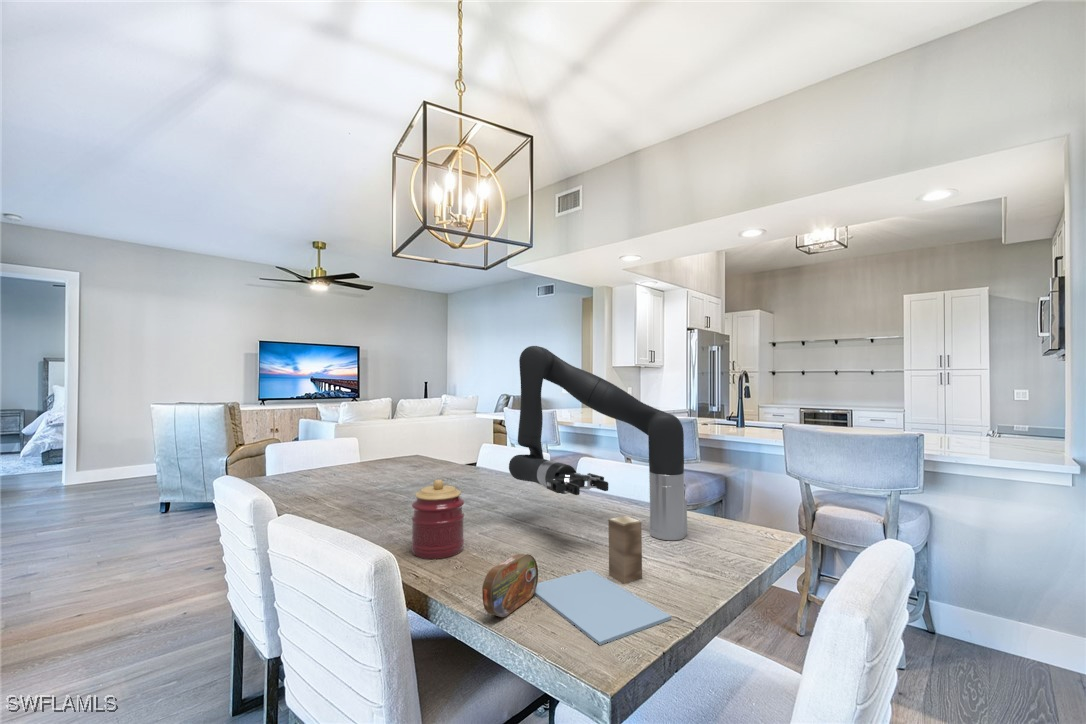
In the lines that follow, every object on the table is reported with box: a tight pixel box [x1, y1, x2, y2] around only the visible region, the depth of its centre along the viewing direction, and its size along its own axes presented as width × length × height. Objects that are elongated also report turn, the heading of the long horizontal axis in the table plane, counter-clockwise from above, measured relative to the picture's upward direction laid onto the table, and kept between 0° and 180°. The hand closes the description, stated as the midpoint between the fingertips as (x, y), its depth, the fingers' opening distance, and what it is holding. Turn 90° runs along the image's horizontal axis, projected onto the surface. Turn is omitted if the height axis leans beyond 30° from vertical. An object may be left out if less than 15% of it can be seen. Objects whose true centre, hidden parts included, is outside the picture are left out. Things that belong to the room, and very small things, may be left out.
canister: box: [410, 479, 465, 560], centre depth 118 cm, size 13×13×18 cm
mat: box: [533, 569, 672, 646], centre depth 89 cm, size 16×24×1 cm, turn 31°
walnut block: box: [608, 515, 643, 585], centre depth 101 cm, size 5×5×12 cm
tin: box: [481, 553, 539, 618], centre depth 88 cm, size 15×3×8 cm, turn 148°
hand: (593, 488), depth 111 cm, fingers open, 8 cm apart
